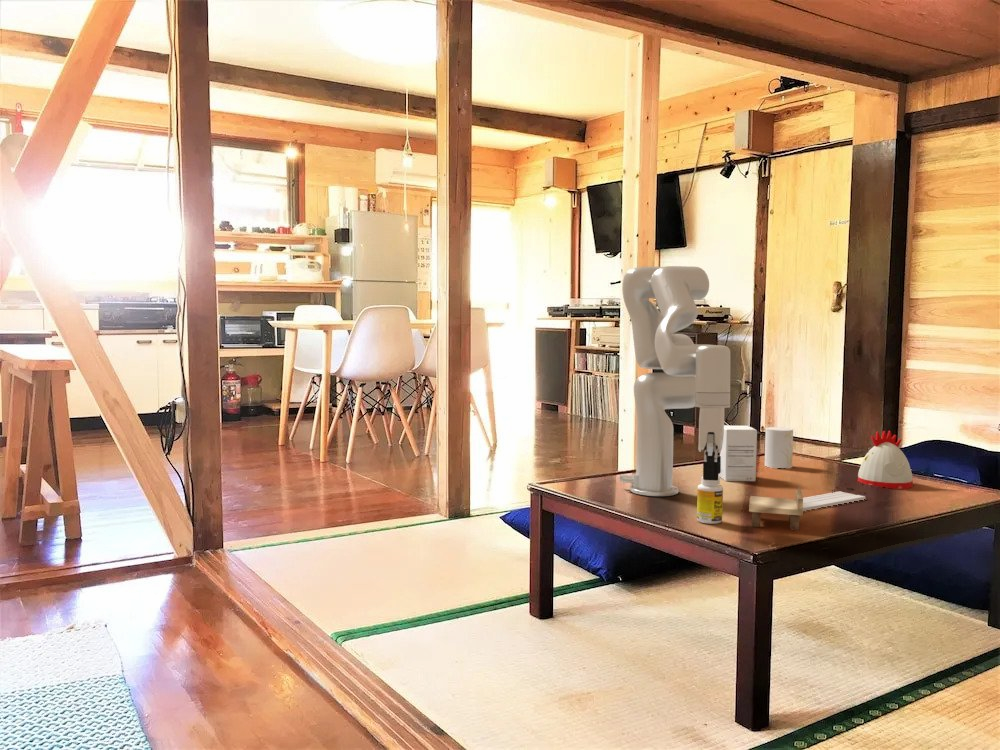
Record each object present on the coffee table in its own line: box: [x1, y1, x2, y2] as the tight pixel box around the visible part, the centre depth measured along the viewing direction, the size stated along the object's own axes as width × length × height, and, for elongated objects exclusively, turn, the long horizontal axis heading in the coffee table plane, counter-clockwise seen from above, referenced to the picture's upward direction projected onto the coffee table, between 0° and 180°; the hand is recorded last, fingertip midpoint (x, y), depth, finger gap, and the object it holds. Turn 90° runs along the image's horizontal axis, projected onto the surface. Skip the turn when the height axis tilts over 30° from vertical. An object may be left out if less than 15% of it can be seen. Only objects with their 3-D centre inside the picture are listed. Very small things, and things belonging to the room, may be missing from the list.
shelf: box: [748, 488, 804, 531], centre depth 179 cm, size 11×11×7 cm
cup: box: [764, 426, 794, 469], centre depth 251 cm, size 8×8×12 cm
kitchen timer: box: [857, 430, 914, 490], centre depth 225 cm, size 14×14×15 cm
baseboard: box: [803, 486, 867, 512], centre depth 200 cm, size 30×3×10 cm
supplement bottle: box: [696, 475, 724, 525], centre depth 181 cm, size 6×6×10 cm
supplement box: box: [718, 424, 758, 482], centre depth 232 cm, size 9×9×15 cm
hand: (712, 476), depth 180 cm, fingers open, 9 cm apart
